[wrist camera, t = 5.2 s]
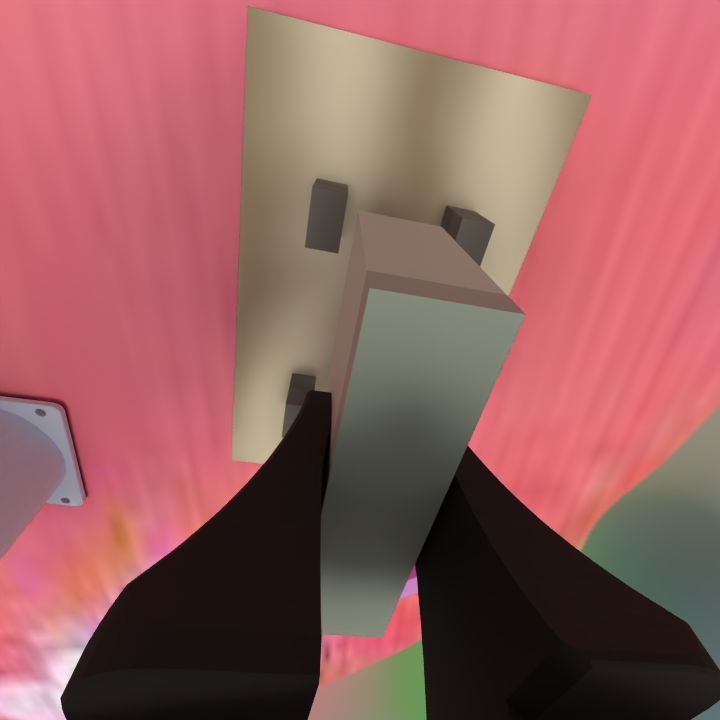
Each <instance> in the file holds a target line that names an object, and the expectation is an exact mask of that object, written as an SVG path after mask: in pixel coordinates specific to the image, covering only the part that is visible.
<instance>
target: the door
mask: <svg viewBox="0 0 720 720" xmlns="http://www.w3.org/2000/svg"><path fill="white" fill-rule="evenodd" d="M524 317H525V313H524V312H523V311H522V310H521V309H520V308H519V307H518V306H517V305H516V304H515V303H514V302H513V301H512V300H511V299H510V298H509V297H508V296H507V295H506V294H505V293H504V292H503V290H502V289H501V288H500V287H499V286H498V285H497V284H496V283H495V282H494V281H493V280H492V279H491V278H490V277H489V276H488V275H487V274H486V273H485V272H484V271H483V270H482V269H481V267H480V266H479V265H478V264H477V263H476V262H475V261H474V260H473V259H472V258H471V257H470V256H469V255H468V254H467V253H466V252H465V251H464V250H463V249H462V248H461V247H460V245H459V244H458V243H457V242H456V241H455V240H454V239H453V238H452V237H451V236H450V235H449V234H448V233H447V232H446V231H445V230H444V229H443V228H442V227H440V226H435V225H430V224H425V223H420V222H415V221H410V220H405V219H399V218H394V217H389V216H384V215H379V214H374V213H369V212H364V211H359V210H358V215H357V220H356V226H355V231H354V237H353V243H352V248H351V254H350V259H349V265H348V271H347V276H346V282H345V287H344V293H343V299H342V304H341V310H340V315H339V321H338V327H337V332H336V338H335V343H334V349H333V355H332V360H331V366H330V371H329V377H328V383H327V388H326V392H330V393H331V394H332V417H331V423H330V428H329V433H328V439H327V444H326V449H325V455H324V461H323V469H322V495H321V555H320V571H321V629H322V634H325V635H342V636H359V637H376V638H382V637H383V635H384V633H385V630H386V628H387V626H388V624H389V621H390V619H391V617H392V614H393V612H394V610H395V608H396V605H397V603H398V601H399V599H400V596H401V594H402V592H403V590H404V587H405V585H406V583H407V581H408V578H409V576H410V574H411V572H412V569H413V567H414V565H415V563H416V560H417V558H418V556H419V554H420V551H421V549H422V547H423V545H424V542H425V540H426V538H427V536H428V533H429V531H430V529H431V527H432V524H433V522H434V520H435V518H436V515H437V513H438V511H439V509H440V506H441V504H442V502H443V500H444V497H445V495H446V493H447V491H448V488H449V486H450V484H451V482H452V479H453V477H454V475H455V473H456V470H457V468H458V466H459V464H460V461H461V459H462V457H463V455H464V452H465V450H466V448H467V446H468V443H469V441H470V439H471V437H472V434H473V432H474V430H475V428H476V425H477V423H478V421H479V418H480V416H481V414H482V412H483V409H484V407H485V405H486V403H487V400H488V398H489V396H490V394H491V391H492V389H493V387H494V385H495V382H496V380H497V378H498V376H499V373H500V371H501V369H502V367H503V364H504V362H505V360H506V358H507V355H508V353H509V351H510V349H511V346H512V344H513V342H514V340H515V337H516V335H517V333H518V331H519V328H520V326H521V324H522V322H523V319H524Z"/></svg>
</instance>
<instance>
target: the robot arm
mask: <svg viewBox="0 0 720 720" xmlns="http://www.w3.org/2000/svg"><path fill="white" fill-rule="evenodd" d="M43 410H44V411H43ZM331 417H332V394H331V393H330V392H323V391H315V390H310V391H309V392H307V394H306V398H305V400H304V403H303V405H302V407H301V409H300V411H299V413H298V415H297V417H296V419H295V420H294V422H293V424H292V425H291V427H290V428H289V430H288V432H287V433H286V435H285V436H284V438H283V439H282V441H281V442H280V443H279V445H278V446H277V447H276V449H275V450H274V451H273V453H272V454H271V455H270V457H269V458H268V459H267V461H266V462H265V463H264V464H263V465H262V467H261V468H260V469H259V470H258V471H257V473H256V474H255V475H254V476H253V477H252V478H251V479H250V480H249V482H248V483H247V484H246V485H245V486H244V487H243V488H242V489H241V490H240V491H239V492H238V493H237V494H236V495H235V496H234V497H233V498H232V499H231V500H230V501H229V502H228V503H227V504H226V505H225V506H224V507H223V508H222V509H221V510H220V511H219V512H218V513H217V514H215V515H214V516H213V517H212V518H211V519H210V520H209V521H207V522H206V523H205V524H204V525H203V526H202V527H200V528H199V529H198V530H197V531H196V532H195V533H193V534H192V535H191V536H190V537H189V538H188V539H187V540H185V541H184V542H183V543H182V544H180V545H179V546H178V547H177V548H175V549H174V550H173V551H172V552H170V553H169V554H168V555H166V556H165V557H164V558H162V559H161V560H160V561H158V562H157V563H156V564H154V565H153V566H151V567H150V568H149V569H147V570H146V571H145V572H143V573H142V574H141V575H139V576H138V577H137V578H135V579H134V580H133V581H131V582H130V583H129V584H127V585H126V587H125V588H124V589H123V591H122V592H121V593H120V595H119V596H118V598H117V599H116V600H115V602H114V603H113V605H112V606H111V607H110V609H109V610H108V612H107V613H106V615H105V616H104V618H103V619H102V621H101V622H100V624H99V626H98V627H97V629H96V630H95V632H94V634H93V635H92V637H91V639H90V640H89V642H88V644H87V645H86V647H85V649H84V651H83V653H82V655H81V657H80V659H79V661H78V663H77V665H76V668H75V670H74V672H73V674H72V676H71V678H70V680H69V682H68V684H67V686H66V688H65V690H64V692H63V694H62V696H61V705H62V710H63V713H64V715H65V717H66V719H67V720H308V716H309V713H310V710H311V707H312V704H313V701H314V697H315V694H316V691H317V688H318V685H319V677H320V658H321V637H322V629H321V571H320V555H321V495H322V469H323V461H324V455H325V449H326V444H327V439H328V433H329V428H330V423H331ZM85 500H86V496H85V492H84V488H83V483H82V479H81V475H80V471H79V467H78V463H77V459H76V454H75V450H74V446H73V442H72V438H71V434H70V430H69V425H68V421H67V417H66V413H65V410H64V408H63V407H62V406H61V405H59V404H57V403H53V402H45V401H37V400H29V399H21V398H13V397H5V396H0V560H1V558H2V557H3V556H4V555H5V553H6V552H7V551H8V549H9V548H10V547H11V546H12V544H13V543H14V542H15V541H16V539H17V538H18V537H19V536H20V534H21V533H22V532H23V531H24V529H25V528H26V527H27V526H28V524H29V523H30V522H31V520H32V519H33V518H34V517H35V515H36V514H37V513H38V512H39V510H40V509H41V508H42V507H43V505H44V504H45V503H48V504H58V505H69V506H80V505H82V504H83V503H84V501H85ZM415 569H416V576H417V585H418V596H419V607H420V618H421V631H422V645H423V658H424V676H425V695H426V714H427V720H691V719H692V718H694V717H696V716H697V715H699V714H700V713H702V712H704V711H705V710H707V709H709V708H710V707H711V706H713V705H714V704H715V703H717V702H718V701H719V700H720V670H719V668H718V667H717V666H716V664H715V663H714V661H713V659H712V658H711V657H710V655H709V654H708V652H707V651H706V649H705V648H704V646H703V645H702V643H701V642H700V641H699V639H698V638H697V636H696V635H695V633H694V632H693V630H692V629H691V627H690V626H689V625H688V623H686V622H685V621H683V620H682V619H680V618H678V617H677V616H675V615H674V614H672V613H671V612H669V611H667V610H666V609H664V608H663V607H661V606H659V605H658V604H656V603H655V602H653V601H651V600H650V599H648V598H647V597H645V596H643V595H642V594H640V593H639V592H637V591H636V590H634V589H632V588H631V587H629V586H628V585H626V584H625V583H623V582H622V581H621V580H619V579H618V578H616V577H615V576H613V575H612V574H610V573H609V572H608V571H606V570H605V569H603V568H602V567H601V566H599V565H598V564H596V563H595V562H593V561H592V560H591V559H589V558H588V557H587V556H585V555H584V554H583V553H581V552H580V551H579V550H577V549H576V548H575V547H574V546H572V545H571V544H570V543H568V542H567V541H566V540H565V539H563V538H562V537H561V536H560V535H558V534H557V533H556V532H555V531H553V530H552V529H551V528H550V527H549V526H547V525H546V524H545V523H544V522H543V521H542V520H540V519H539V518H538V517H537V516H536V515H535V514H534V513H533V512H531V511H530V510H529V509H528V508H527V507H526V506H525V505H524V504H523V503H522V502H520V501H519V500H518V499H517V498H516V497H515V496H514V495H513V494H512V493H511V492H510V491H509V490H508V489H507V488H506V487H505V486H504V485H503V484H502V483H501V482H500V481H499V480H498V479H497V478H496V477H495V476H494V475H493V473H492V472H491V471H490V470H489V469H488V468H487V467H486V466H485V465H484V464H483V463H482V461H481V460H480V459H479V458H478V457H477V456H476V455H475V453H474V452H473V451H472V450H471V449H470V448H469V446H467V448H466V450H465V452H464V455H463V457H462V459H461V461H460V464H459V466H458V468H457V470H456V473H455V475H454V477H453V479H452V482H451V484H450V486H449V488H448V491H447V493H446V495H445V497H444V500H443V502H442V504H441V506H440V509H439V511H438V513H437V515H436V518H435V520H434V522H433V524H432V527H431V529H430V531H429V533H428V536H427V538H426V540H425V542H424V545H423V547H422V549H421V551H420V554H419V556H418V558H417V560H416V563H415Z"/></svg>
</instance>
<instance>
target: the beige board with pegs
mask: <svg viewBox="0 0 720 720" xmlns="http://www.w3.org/2000/svg"><path fill="white" fill-rule="evenodd" d="M591 96H592V95H590V94H586V93H582V92H578V91H574V90H570V89H567V88H563V87H559V86H555V85H551V84H547V83H543V82H540V81H536V80H532V79H528V78H524V77H520V76H516V75H513V74H509V73H505V72H501V71H497V70H493V69H489V68H485V67H482V66H478V65H474V64H470V63H466V62H462V61H458V60H455V59H451V58H447V57H443V56H439V55H435V54H431V53H428V52H424V51H420V50H416V49H412V48H408V47H404V46H401V45H397V44H393V43H389V42H385V41H381V40H377V39H373V38H370V37H366V36H362V35H358V34H354V33H350V32H346V31H343V30H339V29H335V28H331V27H327V26H323V25H319V24H316V23H312V22H308V21H304V20H300V19H296V18H292V17H288V16H285V15H281V14H277V13H273V12H269V11H265V10H261V9H258V8H254V7H250V6H248V14H247V42H246V69H245V97H244V124H243V152H242V179H241V207H240V234H239V262H238V289H237V317H236V344H235V372H234V399H233V427H232V454H231V460H235V461H244V462H253V463H262V464H264V463H265V462H266V461H267V459H268V458H269V457H270V455H271V454H272V453H273V451H274V450H275V449H276V447H277V446H278V445H279V443H280V442H281V441H282V439H283V438H284V436H285V435H286V433H287V432H288V430H289V428H290V427H291V425H292V424H293V422H294V420H295V419H296V417H297V415H298V413H299V411H300V409H301V407H302V405H303V403H304V400H305V398H306V394H307V392H309V391H310V390H315V391H323V392H326V388H327V383H328V377H329V371H330V366H331V360H332V355H333V349H334V343H335V338H336V332H337V327H338V321H339V315H340V310H341V304H342V299H343V293H344V287H345V282H346V276H347V271H348V265H349V259H350V254H351V248H352V243H353V237H354V231H355V226H356V220H357V215H358V210H359V211H364V212H369V213H374V214H379V215H384V216H389V217H394V218H399V219H405V220H410V221H415V222H420V223H425V224H430V225H435V226H440V227H442V228H443V229H444V230H445V231H446V232H447V233H448V234H449V235H450V236H451V237H452V238H453V239H454V240H455V241H456V242H457V243H458V244H459V245H460V247H461V248H462V249H463V250H464V251H465V252H466V253H467V254H468V255H469V256H470V257H471V258H472V259H473V260H474V261H475V262H476V263H477V264H478V265H479V266H480V267H481V269H482V270H483V271H484V272H485V273H486V274H487V275H488V276H489V277H490V278H491V279H492V280H493V281H494V282H495V283H496V284H497V285H498V286H499V287H500V288H501V289H502V290H503V292H504V293H505V294H506V295H507V296H508V297H509V295H510V292H511V290H512V287H513V285H514V283H515V280H516V278H517V275H518V273H519V271H520V268H521V266H522V263H523V261H524V258H525V256H526V254H527V251H528V249H529V246H530V244H531V242H532V239H533V237H534V234H535V232H536V229H537V227H538V225H539V222H540V220H541V217H542V215H543V213H544V210H545V208H546V205H547V203H548V200H549V198H550V196H551V193H552V191H553V188H554V186H555V183H556V181H557V179H558V176H559V174H560V171H561V169H562V167H563V164H564V162H565V159H566V157H567V154H568V152H569V150H570V147H571V145H572V142H573V140H574V138H575V135H576V133H577V130H578V128H579V125H580V123H581V121H582V118H583V116H584V113H585V111H586V109H587V106H588V104H589V101H590V99H591Z"/></svg>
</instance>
